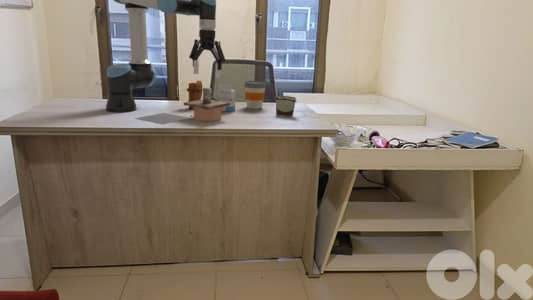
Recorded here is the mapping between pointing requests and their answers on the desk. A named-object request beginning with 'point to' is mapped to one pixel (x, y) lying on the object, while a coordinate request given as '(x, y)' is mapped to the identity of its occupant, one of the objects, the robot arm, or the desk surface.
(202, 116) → the bowl
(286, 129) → the desk surface
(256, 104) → the reusable coffee cup
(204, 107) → the lid
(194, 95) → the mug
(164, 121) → the mat
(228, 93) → the clear plastic jar
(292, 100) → the food container
